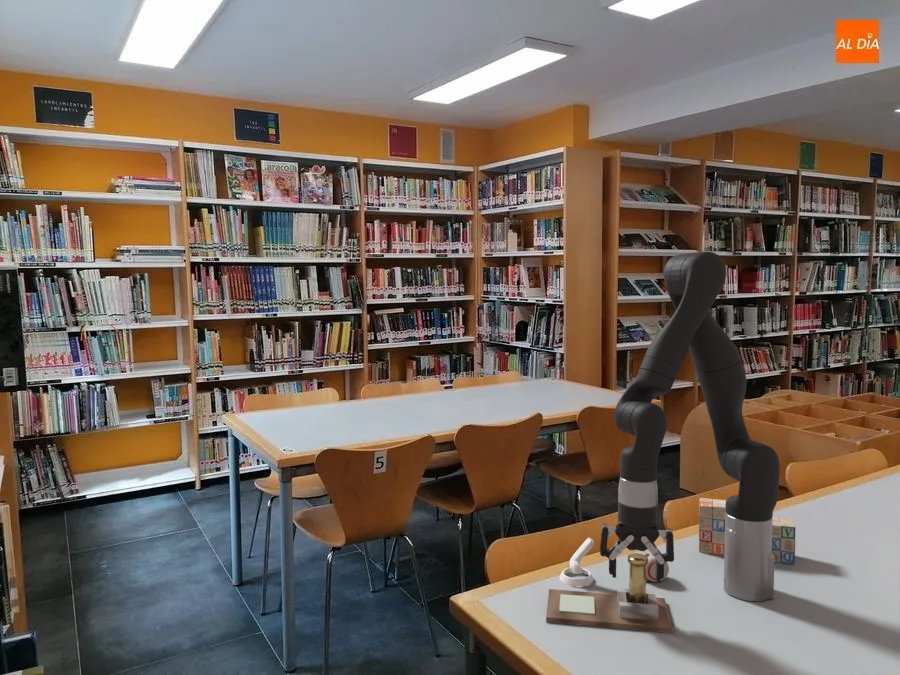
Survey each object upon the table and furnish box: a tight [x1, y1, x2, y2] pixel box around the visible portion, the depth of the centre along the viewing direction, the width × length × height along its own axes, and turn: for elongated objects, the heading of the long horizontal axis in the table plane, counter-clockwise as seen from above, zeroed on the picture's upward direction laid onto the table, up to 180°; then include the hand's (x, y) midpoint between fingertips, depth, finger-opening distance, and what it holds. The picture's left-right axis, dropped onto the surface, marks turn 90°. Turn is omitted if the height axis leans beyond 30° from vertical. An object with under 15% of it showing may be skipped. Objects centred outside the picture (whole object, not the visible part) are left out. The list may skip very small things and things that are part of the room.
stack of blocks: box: [698, 497, 796, 565], centre depth 160 cm, size 21×6×12 cm, turn 68°
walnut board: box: [545, 587, 673, 634], centre depth 133 cm, size 24×12×4 cm, turn 79°
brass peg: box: [627, 552, 648, 604], centre depth 131 cm, size 4×4×11 cm
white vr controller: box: [559, 537, 595, 587], centre depth 147 cm, size 8×12×7 cm
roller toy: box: [643, 551, 670, 583], centre depth 147 cm, size 4×6×6 cm
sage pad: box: [559, 594, 595, 615], centre depth 134 cm, size 7×7×1 cm
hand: (635, 577), depth 131 cm, fingers open, 8 cm apart
